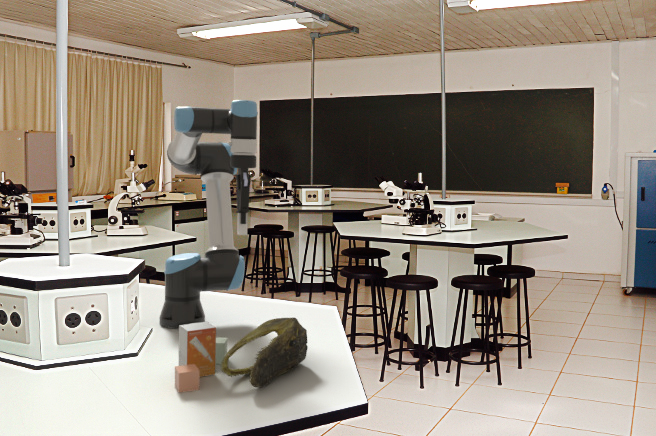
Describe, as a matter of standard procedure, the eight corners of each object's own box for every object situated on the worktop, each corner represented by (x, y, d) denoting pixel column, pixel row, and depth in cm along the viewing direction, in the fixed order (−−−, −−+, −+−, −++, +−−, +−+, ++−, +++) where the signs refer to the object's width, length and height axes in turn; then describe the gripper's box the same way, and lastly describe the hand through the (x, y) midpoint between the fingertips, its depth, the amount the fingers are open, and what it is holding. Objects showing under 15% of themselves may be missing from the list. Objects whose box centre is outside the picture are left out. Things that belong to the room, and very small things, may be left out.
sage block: (209, 357, 173) (209, 337, 173) (227, 358, 173) (227, 337, 173) (206, 363, 168) (206, 342, 168) (224, 364, 168) (224, 343, 168)
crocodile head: (266, 336, 178) (298, 305, 172) (296, 384, 172) (330, 354, 166) (200, 350, 155) (234, 315, 150) (231, 406, 149) (268, 372, 143)
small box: (186, 380, 156) (186, 331, 154) (178, 372, 161) (178, 324, 159) (216, 374, 160) (216, 326, 159) (206, 367, 165) (207, 320, 164)
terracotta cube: (174, 385, 152) (174, 366, 152) (194, 382, 154) (194, 363, 154) (178, 393, 148) (178, 373, 147) (199, 390, 150) (199, 370, 149)
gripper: (227, 153, 181) (227, 231, 184) (233, 154, 169) (232, 237, 171) (252, 154, 183) (251, 231, 186) (259, 154, 171) (258, 237, 173)
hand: (242, 234), depth 179 cm, fingers closed
